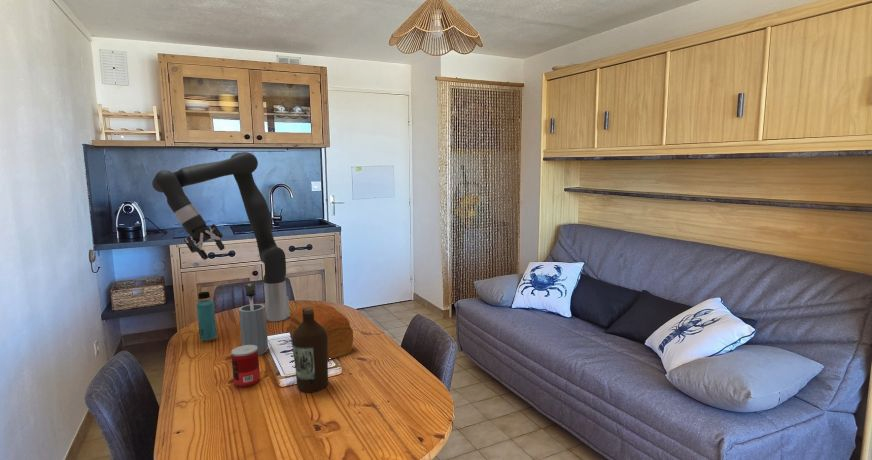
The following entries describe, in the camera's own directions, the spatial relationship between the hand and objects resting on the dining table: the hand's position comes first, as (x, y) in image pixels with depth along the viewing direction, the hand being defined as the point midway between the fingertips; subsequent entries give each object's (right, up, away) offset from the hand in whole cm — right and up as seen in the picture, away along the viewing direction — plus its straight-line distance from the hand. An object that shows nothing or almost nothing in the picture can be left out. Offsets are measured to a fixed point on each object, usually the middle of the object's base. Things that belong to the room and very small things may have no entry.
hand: (215, 254), depth 185 cm
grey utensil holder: (+19, -36, -7) cm, 41 cm away
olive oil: (+47, -40, -36) cm, 71 cm away
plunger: (+19, -34, -8) cm, 40 cm away
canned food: (+25, -40, -32) cm, 57 cm away
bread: (+43, -35, -4) cm, 56 cm away
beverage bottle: (-5, -35, +5) cm, 36 cm away
